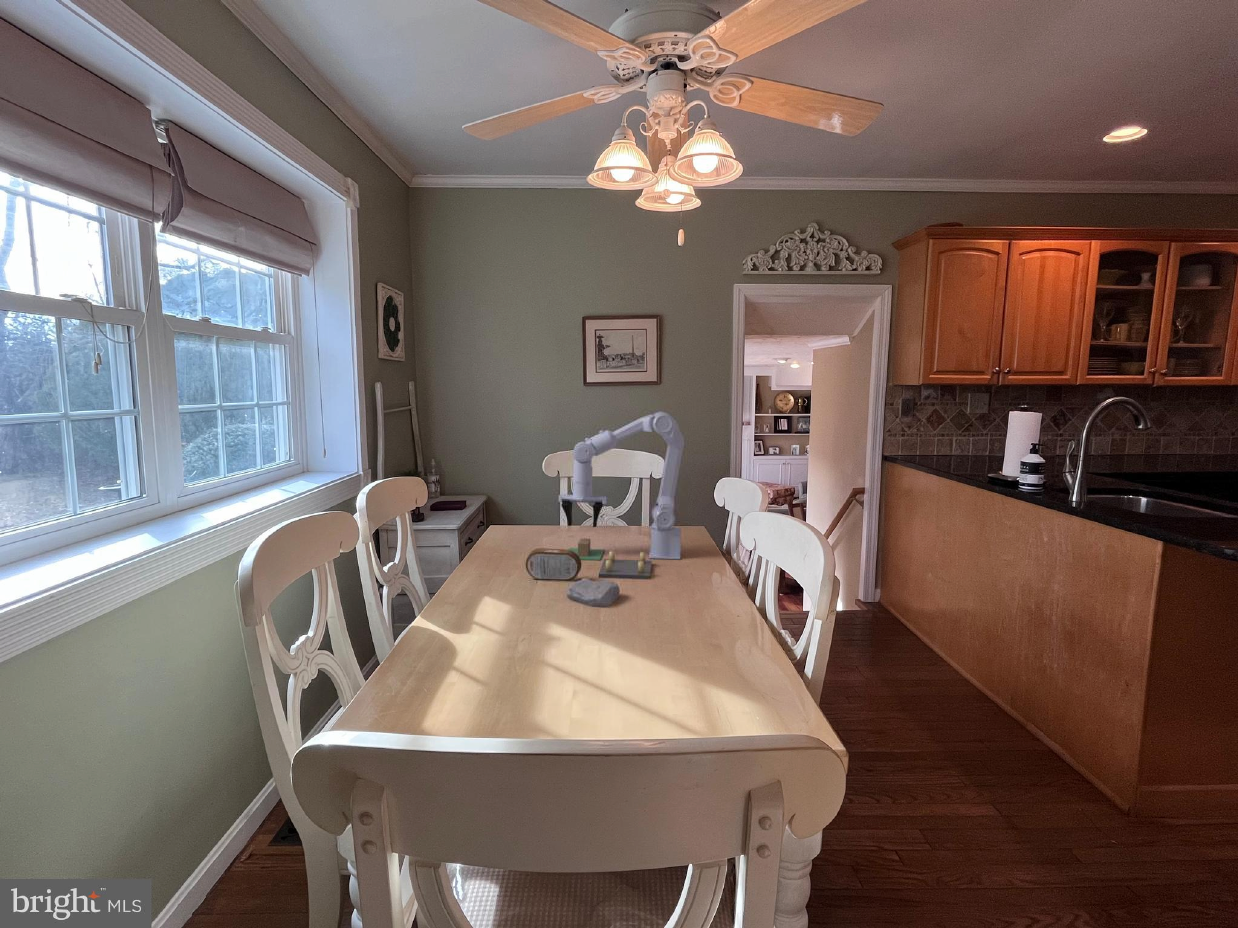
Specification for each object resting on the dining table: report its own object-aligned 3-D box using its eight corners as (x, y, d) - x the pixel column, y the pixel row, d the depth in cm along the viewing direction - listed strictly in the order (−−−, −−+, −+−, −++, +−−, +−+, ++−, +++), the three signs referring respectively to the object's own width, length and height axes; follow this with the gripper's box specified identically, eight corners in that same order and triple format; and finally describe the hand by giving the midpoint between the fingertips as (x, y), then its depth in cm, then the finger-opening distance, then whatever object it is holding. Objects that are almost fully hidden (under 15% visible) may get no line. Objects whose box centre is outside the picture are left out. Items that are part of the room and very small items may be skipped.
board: (603, 552, 194) (604, 536, 193) (599, 562, 183) (600, 546, 182) (569, 551, 195) (569, 535, 194) (563, 561, 184) (563, 545, 183)
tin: (581, 578, 166) (581, 548, 165) (579, 582, 163) (579, 552, 162) (527, 576, 168) (527, 546, 167) (524, 580, 165) (524, 550, 164)
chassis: (651, 563, 180) (651, 550, 180) (649, 579, 166) (649, 564, 166) (604, 562, 181) (604, 549, 181) (598, 577, 168) (598, 563, 167)
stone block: (605, 616, 145) (622, 595, 154) (603, 598, 144) (620, 578, 152) (562, 609, 150) (581, 589, 159) (559, 592, 149) (578, 573, 157)
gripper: (556, 483, 182) (555, 527, 183) (604, 485, 180) (603, 530, 181) (561, 479, 189) (561, 522, 190) (608, 481, 187) (607, 524, 188)
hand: (582, 525), depth 186 cm, fingers open, 7 cm apart
